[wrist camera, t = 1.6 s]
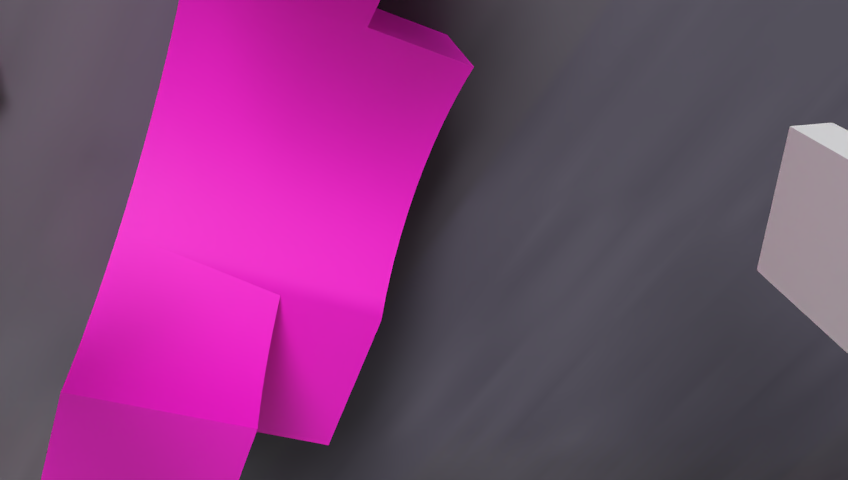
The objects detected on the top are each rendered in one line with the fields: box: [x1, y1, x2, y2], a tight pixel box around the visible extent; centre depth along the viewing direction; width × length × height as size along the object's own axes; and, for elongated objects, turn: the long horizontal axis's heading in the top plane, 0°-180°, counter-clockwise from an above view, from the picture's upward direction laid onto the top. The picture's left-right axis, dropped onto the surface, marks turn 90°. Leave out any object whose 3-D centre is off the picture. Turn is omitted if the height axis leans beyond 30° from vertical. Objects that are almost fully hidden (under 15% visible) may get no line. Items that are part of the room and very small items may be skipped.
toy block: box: [41, 0, 474, 480], centre depth 16 cm, size 15×6×8 cm, turn 159°
